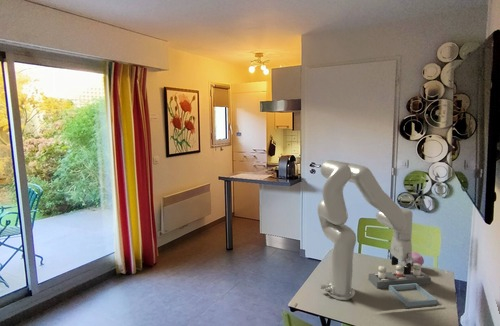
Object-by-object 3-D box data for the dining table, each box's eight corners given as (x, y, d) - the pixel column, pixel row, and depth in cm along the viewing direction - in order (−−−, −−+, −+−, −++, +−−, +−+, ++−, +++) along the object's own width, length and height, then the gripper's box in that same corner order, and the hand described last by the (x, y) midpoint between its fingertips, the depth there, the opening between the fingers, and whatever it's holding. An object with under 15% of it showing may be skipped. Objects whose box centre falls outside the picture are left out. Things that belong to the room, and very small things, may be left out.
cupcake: (413, 266, 172) (414, 248, 170) (427, 273, 163) (428, 255, 162) (400, 268, 169) (401, 250, 167) (413, 276, 161) (414, 257, 159)
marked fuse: (397, 283, 152) (398, 267, 150) (393, 280, 155) (394, 264, 154) (404, 283, 152) (405, 267, 151) (400, 279, 155) (401, 264, 154)
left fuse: (380, 285, 150) (381, 269, 149) (376, 281, 154) (377, 265, 153) (386, 284, 151) (387, 268, 150) (382, 281, 154) (383, 265, 153)
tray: (407, 308, 134) (407, 302, 133) (388, 291, 147) (388, 285, 146) (436, 306, 135) (437, 299, 135) (415, 289, 149) (416, 283, 148)
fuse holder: (377, 290, 148) (377, 281, 147) (368, 281, 156) (368, 273, 155) (430, 285, 152) (430, 277, 151) (419, 277, 160) (419, 269, 159)
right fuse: (415, 282, 153) (416, 266, 152) (410, 278, 156) (411, 263, 155) (421, 281, 153) (423, 266, 152) (417, 278, 157) (418, 262, 156)
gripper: (384, 229, 158) (383, 262, 161) (406, 242, 141) (404, 279, 144) (398, 228, 159) (397, 260, 162) (422, 241, 142) (419, 277, 145)
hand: (400, 269), depth 153 cm, fingers open, 9 cm apart
